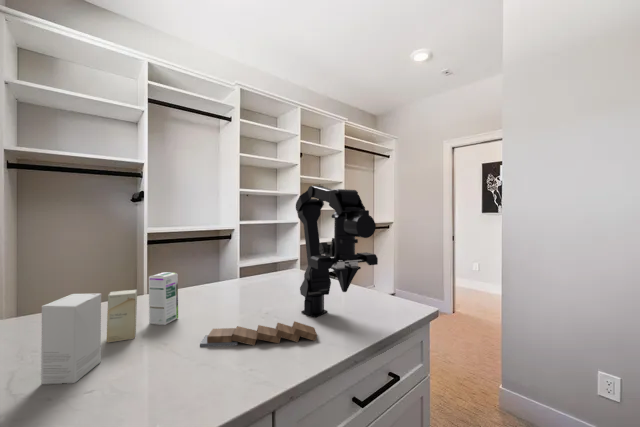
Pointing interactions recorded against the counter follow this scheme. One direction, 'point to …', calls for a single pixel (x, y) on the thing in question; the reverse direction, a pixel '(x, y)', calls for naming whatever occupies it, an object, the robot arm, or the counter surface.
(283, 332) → the domino
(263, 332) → the domino
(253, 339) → the domino
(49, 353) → the skincare box
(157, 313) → the syrup box
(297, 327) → the domino
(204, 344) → the grey domino
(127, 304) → the skincare box
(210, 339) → the domino
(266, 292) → the counter surface
